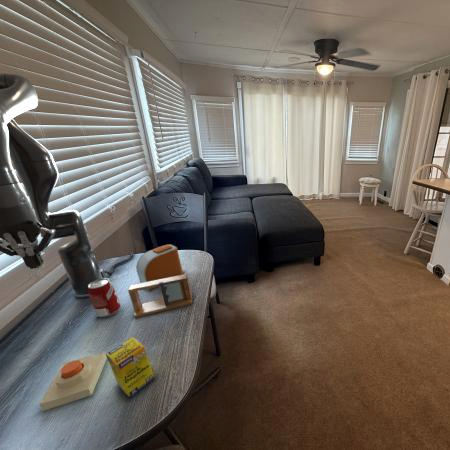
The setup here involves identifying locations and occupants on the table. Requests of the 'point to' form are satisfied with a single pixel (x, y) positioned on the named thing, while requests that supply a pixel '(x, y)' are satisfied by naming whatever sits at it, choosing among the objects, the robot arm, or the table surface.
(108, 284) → the soda can
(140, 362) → the supplement box
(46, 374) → the table surface
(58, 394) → the control plate
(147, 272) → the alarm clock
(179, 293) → the window pane
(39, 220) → the robot arm
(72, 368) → the button
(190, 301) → the window frame
